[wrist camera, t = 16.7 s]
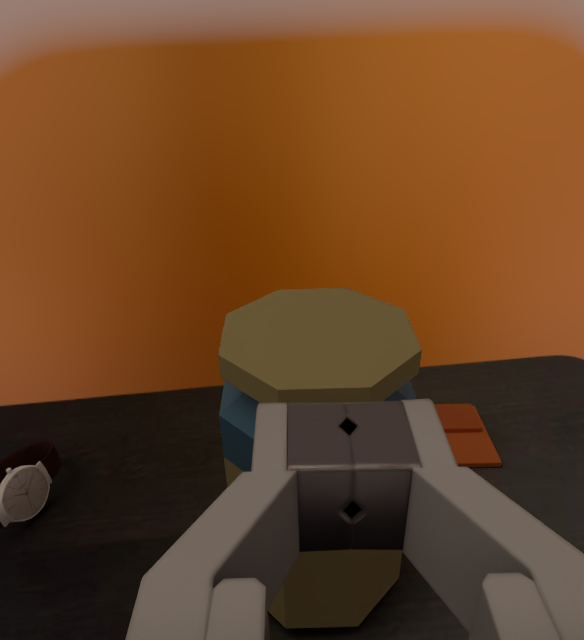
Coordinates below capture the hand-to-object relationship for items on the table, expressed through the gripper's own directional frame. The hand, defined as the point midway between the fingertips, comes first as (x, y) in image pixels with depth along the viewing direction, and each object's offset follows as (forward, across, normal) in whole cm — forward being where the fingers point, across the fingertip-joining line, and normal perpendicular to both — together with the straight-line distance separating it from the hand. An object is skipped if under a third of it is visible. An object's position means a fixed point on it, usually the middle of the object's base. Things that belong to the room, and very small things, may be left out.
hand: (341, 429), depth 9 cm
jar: (+12, 0, +20) cm, 23 cm away
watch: (+16, +19, +20) cm, 32 cm away
